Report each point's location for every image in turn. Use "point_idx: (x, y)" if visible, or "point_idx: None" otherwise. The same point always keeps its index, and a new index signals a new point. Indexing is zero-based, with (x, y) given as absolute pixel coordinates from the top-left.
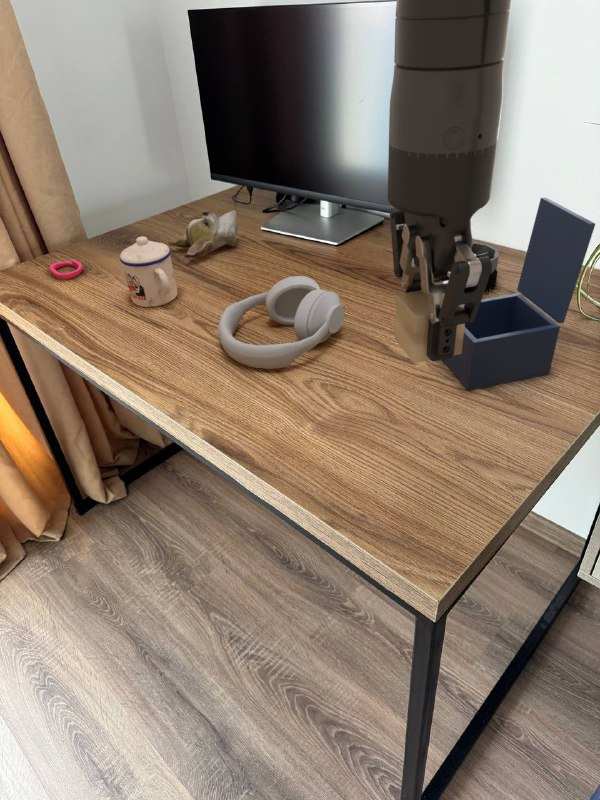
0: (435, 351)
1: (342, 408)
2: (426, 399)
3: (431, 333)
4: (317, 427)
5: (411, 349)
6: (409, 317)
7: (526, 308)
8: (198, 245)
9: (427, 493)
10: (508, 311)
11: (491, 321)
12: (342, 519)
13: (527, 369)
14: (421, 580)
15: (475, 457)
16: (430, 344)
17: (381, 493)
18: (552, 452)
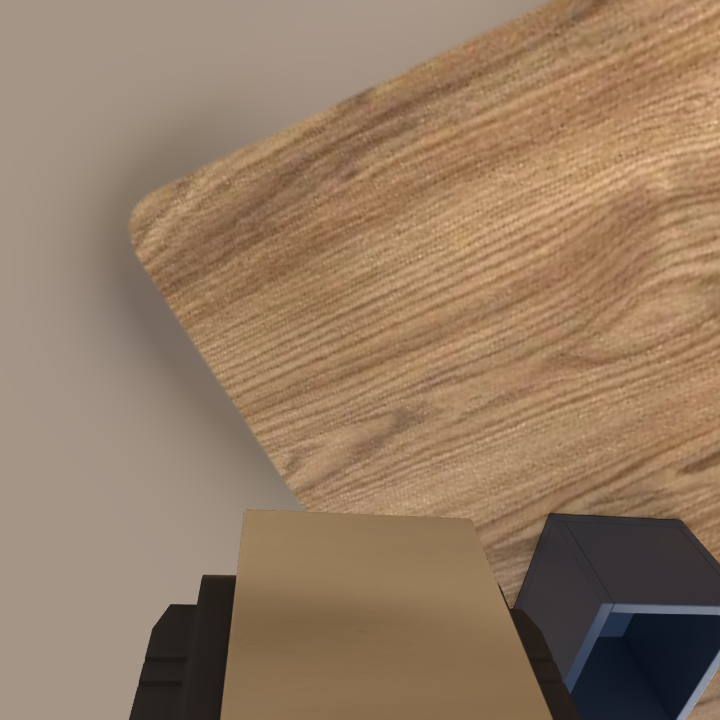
0: (185, 628)
1: (662, 281)
2: (575, 442)
3: (179, 712)
4: (645, 201)
5: (272, 552)
6: (323, 709)
7: (631, 715)
8: None
9: (348, 322)
10: (658, 683)
11: (662, 644)
12: (359, 126)
13: None
14: (155, 205)
15: (390, 440)
16: (190, 646)
17: (389, 240)
18: None
